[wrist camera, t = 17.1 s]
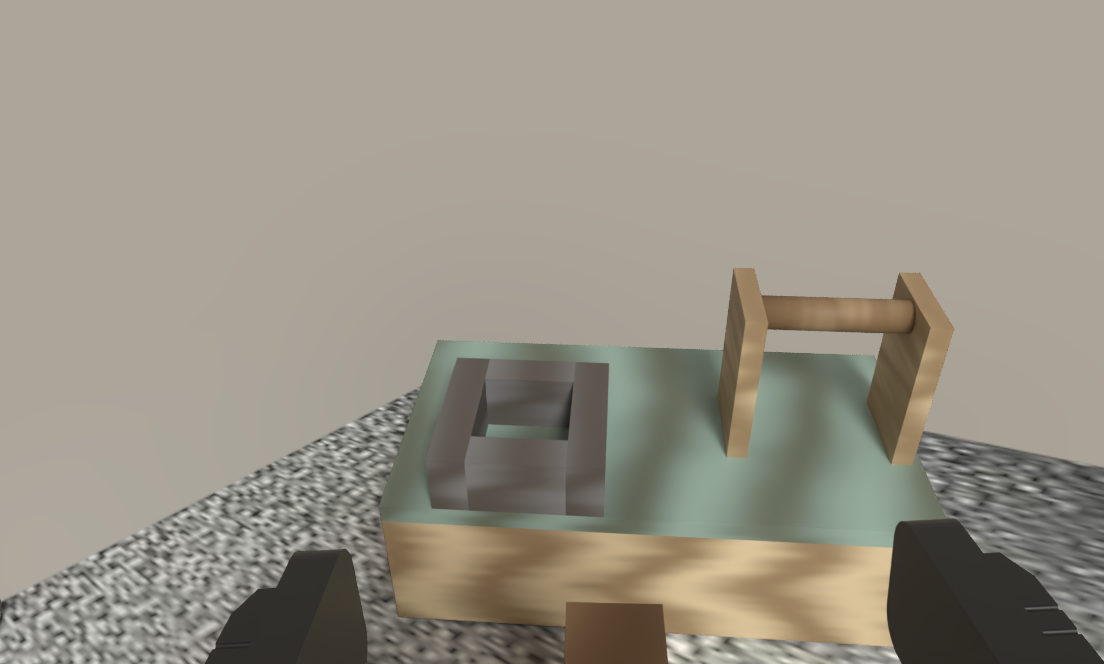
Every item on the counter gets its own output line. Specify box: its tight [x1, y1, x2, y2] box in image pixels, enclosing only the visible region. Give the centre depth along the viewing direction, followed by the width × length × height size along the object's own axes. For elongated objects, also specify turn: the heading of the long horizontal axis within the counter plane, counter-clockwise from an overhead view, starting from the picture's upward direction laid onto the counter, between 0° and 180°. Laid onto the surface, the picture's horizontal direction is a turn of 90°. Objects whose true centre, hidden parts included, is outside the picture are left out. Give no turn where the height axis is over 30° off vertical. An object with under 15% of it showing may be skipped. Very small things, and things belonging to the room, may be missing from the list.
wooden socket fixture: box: [379, 268, 954, 647], centre depth 43 cm, size 26×14×16 cm, turn 85°
